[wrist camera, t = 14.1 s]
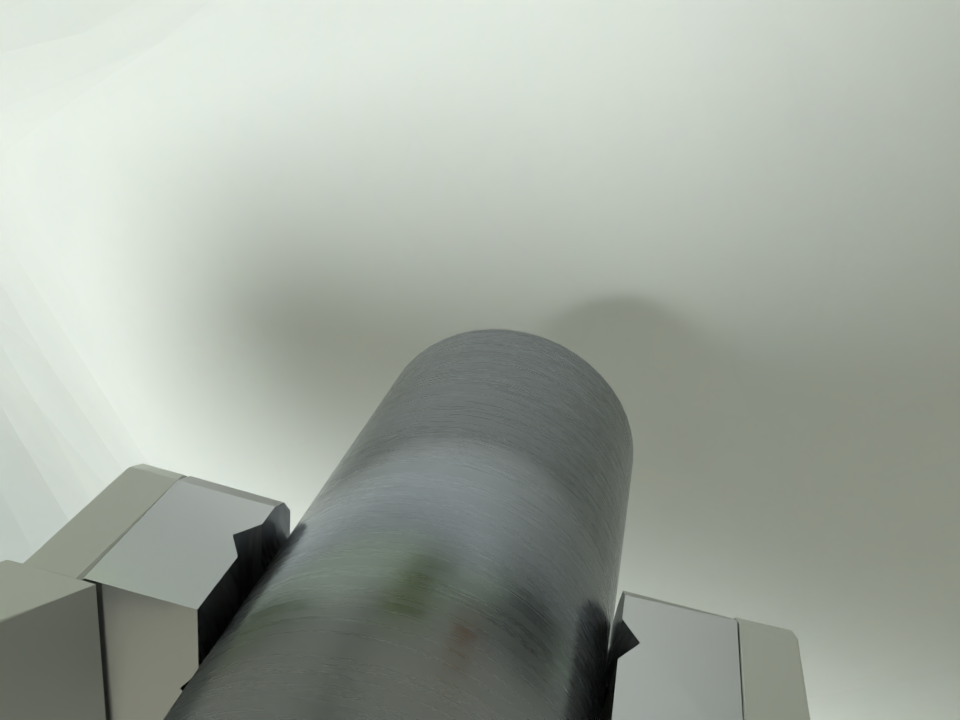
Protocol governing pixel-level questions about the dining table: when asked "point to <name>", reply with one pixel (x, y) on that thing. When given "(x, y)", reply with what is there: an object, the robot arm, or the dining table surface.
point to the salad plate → (515, 273)
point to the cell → (445, 554)
